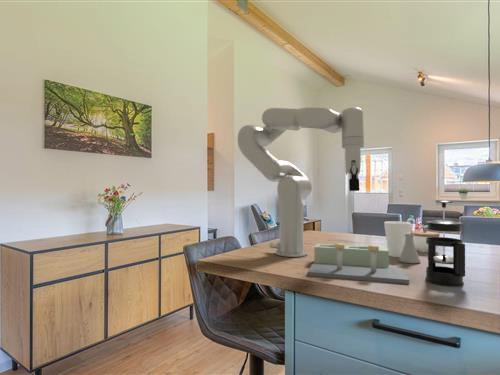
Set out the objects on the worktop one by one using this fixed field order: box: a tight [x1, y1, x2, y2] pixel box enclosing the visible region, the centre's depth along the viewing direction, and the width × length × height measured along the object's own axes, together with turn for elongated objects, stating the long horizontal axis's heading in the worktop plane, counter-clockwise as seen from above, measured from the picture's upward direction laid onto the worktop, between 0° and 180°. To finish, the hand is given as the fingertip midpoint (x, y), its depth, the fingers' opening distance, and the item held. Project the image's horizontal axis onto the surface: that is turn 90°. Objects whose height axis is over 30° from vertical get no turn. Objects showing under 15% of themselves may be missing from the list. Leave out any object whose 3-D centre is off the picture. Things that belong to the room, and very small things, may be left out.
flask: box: [398, 233, 421, 264], centre depth 119 cm, size 7×7×10 cm
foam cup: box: [383, 220, 412, 258], centre depth 129 cm, size 10×9×13 cm
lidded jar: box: [410, 228, 441, 253], centre depth 139 cm, size 11×11×9 cm
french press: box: [425, 200, 466, 287], centre depth 93 cm, size 12×9×23 cm
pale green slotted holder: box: [313, 243, 390, 268], centre depth 115 cm, size 24×7×6 cm, turn 72°
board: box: [307, 243, 410, 285], centre depth 102 cm, size 28×13×9 cm, turn 72°
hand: (354, 190), depth 118 cm, fingers open, 9 cm apart
